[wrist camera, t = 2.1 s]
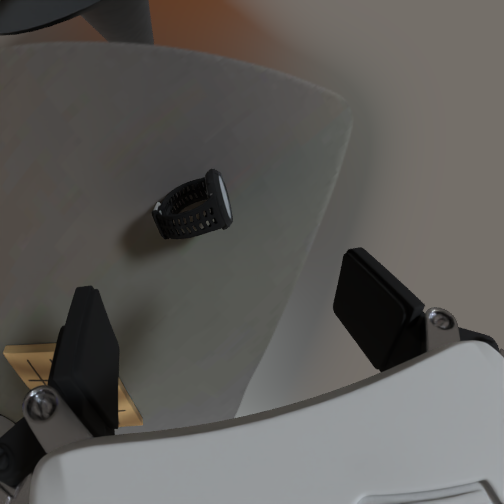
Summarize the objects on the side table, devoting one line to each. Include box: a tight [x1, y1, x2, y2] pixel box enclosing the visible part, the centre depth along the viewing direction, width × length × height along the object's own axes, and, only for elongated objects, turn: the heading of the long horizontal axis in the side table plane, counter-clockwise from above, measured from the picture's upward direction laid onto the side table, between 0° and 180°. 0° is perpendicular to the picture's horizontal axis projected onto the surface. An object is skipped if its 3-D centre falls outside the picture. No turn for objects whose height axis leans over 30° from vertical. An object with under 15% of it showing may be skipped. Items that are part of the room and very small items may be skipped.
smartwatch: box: [152, 169, 233, 239], centre depth 18 cm, size 4×5×5 cm
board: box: [3, 343, 143, 427], centre depth 26 cm, size 16×12×1 cm
